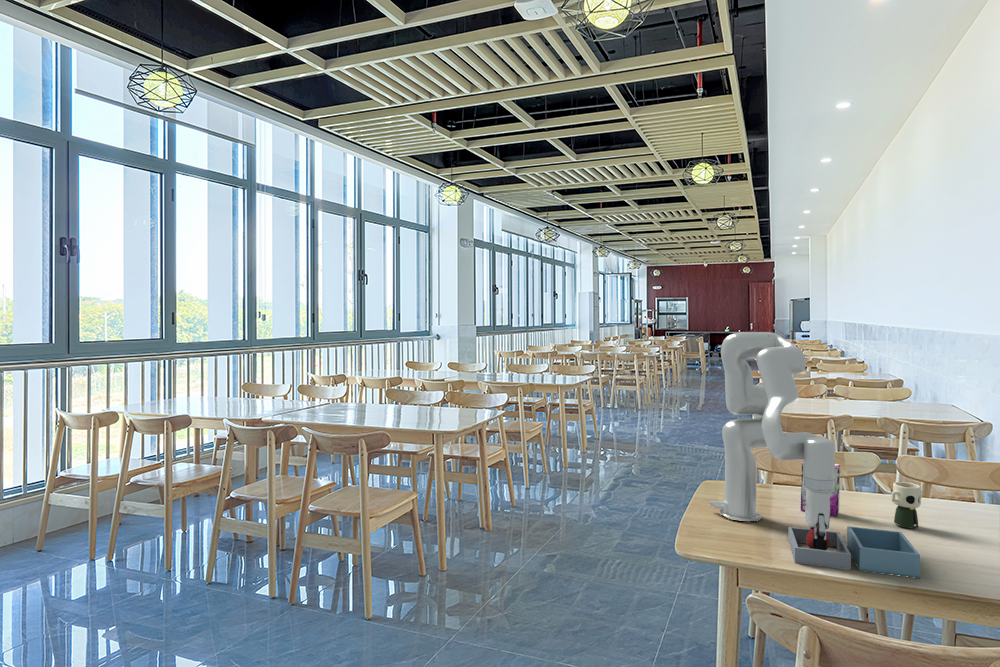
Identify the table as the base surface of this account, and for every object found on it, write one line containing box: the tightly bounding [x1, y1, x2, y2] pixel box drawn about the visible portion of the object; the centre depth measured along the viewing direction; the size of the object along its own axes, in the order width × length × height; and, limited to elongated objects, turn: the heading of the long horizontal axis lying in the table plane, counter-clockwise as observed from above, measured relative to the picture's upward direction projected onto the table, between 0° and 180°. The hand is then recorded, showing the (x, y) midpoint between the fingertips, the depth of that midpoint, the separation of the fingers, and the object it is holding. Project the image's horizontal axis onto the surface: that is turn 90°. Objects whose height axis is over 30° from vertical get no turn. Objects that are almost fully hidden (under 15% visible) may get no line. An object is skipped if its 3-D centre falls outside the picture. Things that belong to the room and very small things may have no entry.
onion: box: [805, 525, 830, 551], centre depth 165 cm, size 6×6×8 cm
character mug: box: [890, 481, 923, 529], centre depth 187 cm, size 11×7×13 cm, turn 103°
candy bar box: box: [800, 459, 841, 517], centre depth 200 cm, size 11×5×16 cm, turn 58°
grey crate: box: [787, 526, 852, 571], centre depth 165 cm, size 13×17×4 cm
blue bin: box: [846, 525, 921, 579], centre depth 160 cm, size 13×17×6 cm
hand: (817, 548), depth 165 cm, fingers closed on onion, 5 cm apart
